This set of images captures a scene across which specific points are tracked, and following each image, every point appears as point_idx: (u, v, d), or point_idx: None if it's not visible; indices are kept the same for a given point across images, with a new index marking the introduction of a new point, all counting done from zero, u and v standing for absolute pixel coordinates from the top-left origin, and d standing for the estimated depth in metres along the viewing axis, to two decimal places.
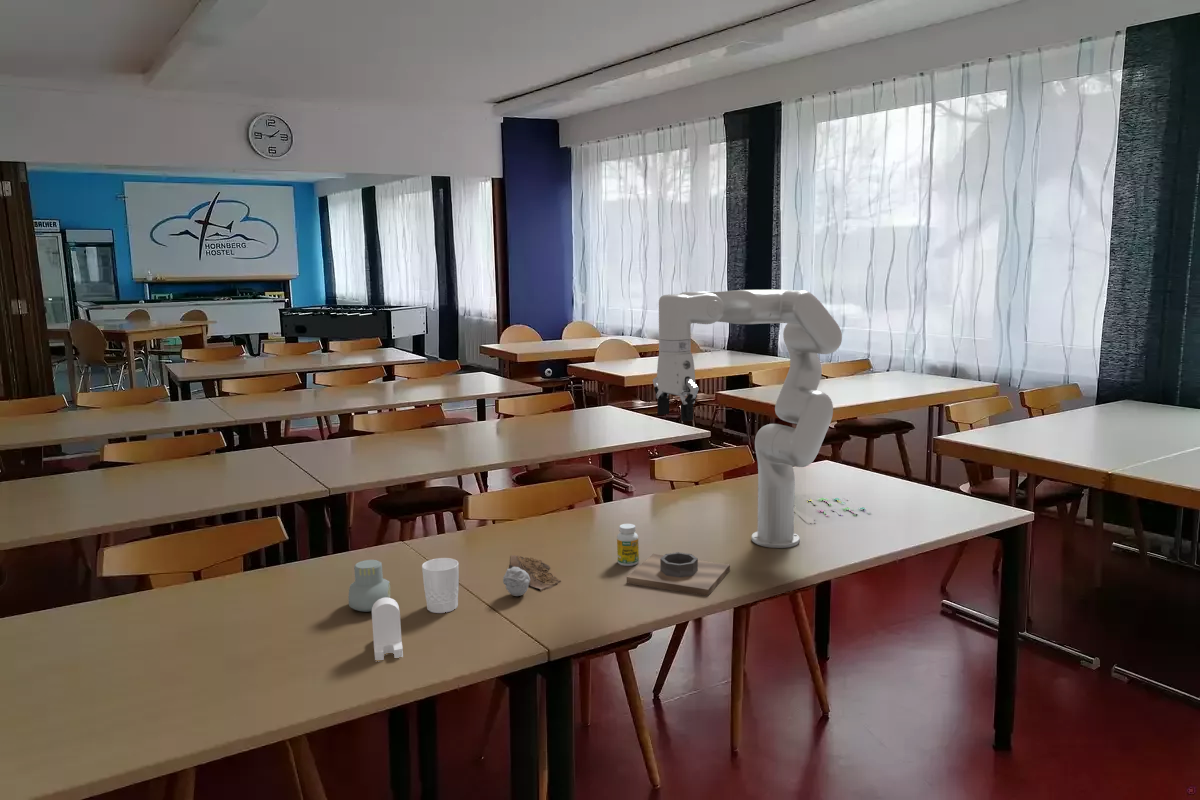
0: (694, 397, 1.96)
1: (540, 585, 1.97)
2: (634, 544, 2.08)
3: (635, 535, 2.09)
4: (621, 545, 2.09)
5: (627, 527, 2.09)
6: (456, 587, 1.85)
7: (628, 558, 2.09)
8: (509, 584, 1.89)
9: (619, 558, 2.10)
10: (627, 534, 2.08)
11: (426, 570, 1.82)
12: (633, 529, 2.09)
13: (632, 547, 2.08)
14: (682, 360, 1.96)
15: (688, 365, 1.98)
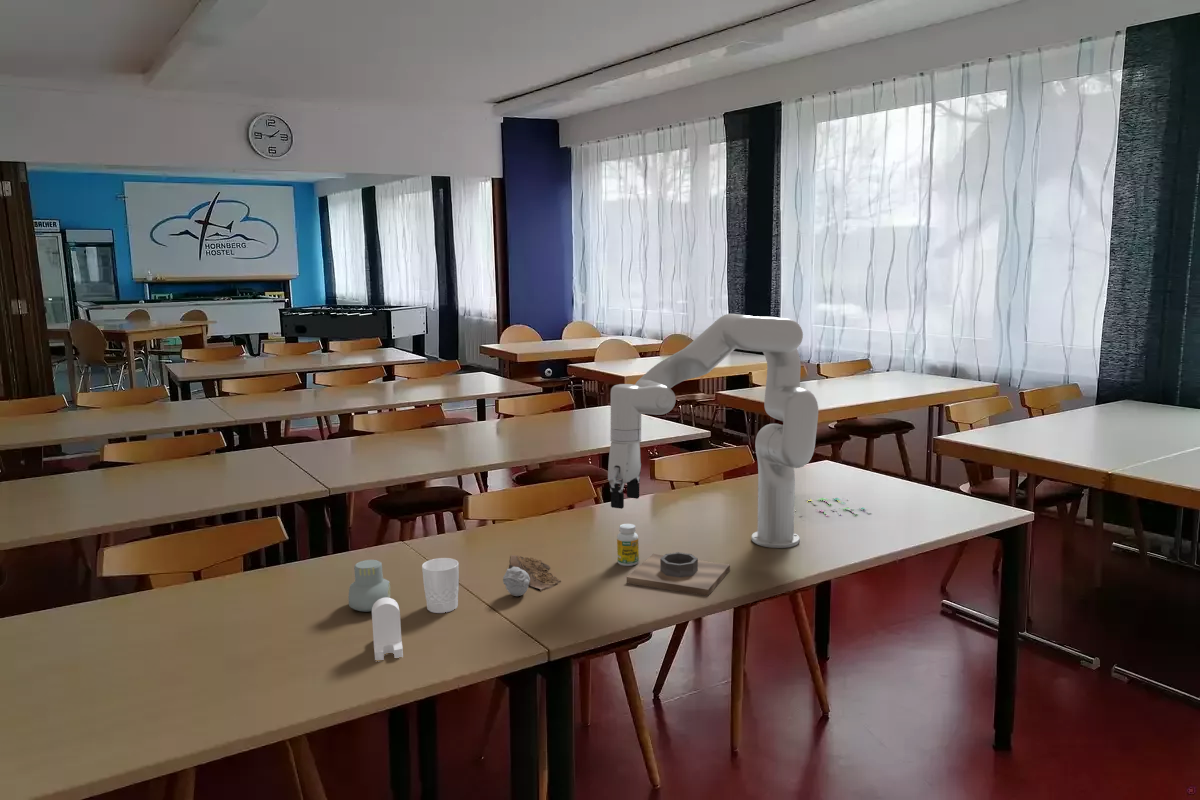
0: None
1: (540, 585, 1.97)
2: (634, 544, 2.08)
3: (635, 535, 2.09)
4: (621, 545, 2.09)
5: (627, 527, 2.09)
6: (456, 587, 1.85)
7: (628, 558, 2.09)
8: (509, 584, 1.89)
9: (619, 558, 2.10)
10: (627, 534, 2.08)
11: (426, 570, 1.82)
12: (633, 529, 2.09)
13: (632, 547, 2.08)
14: None
15: None
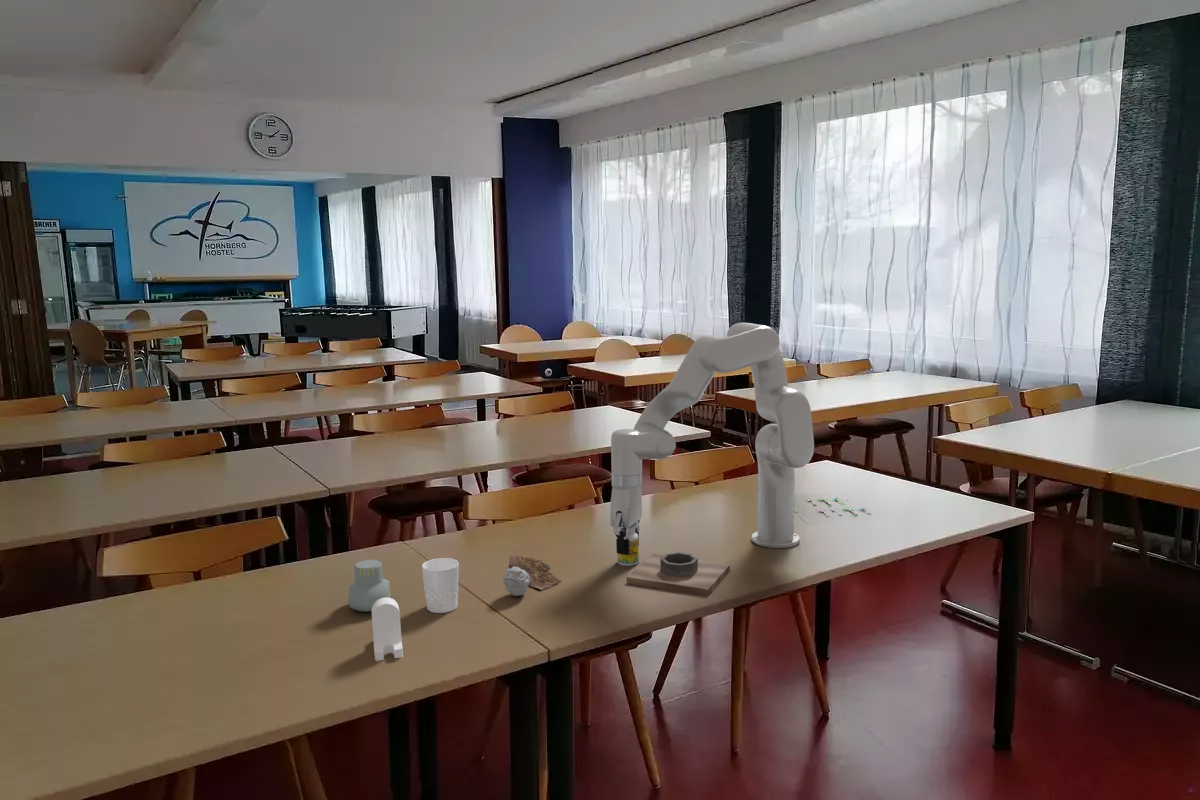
0: None
1: (540, 585, 1.97)
2: (634, 544, 2.08)
3: (635, 535, 2.09)
4: None
5: None
6: (456, 587, 1.85)
7: (628, 558, 2.09)
8: (509, 584, 1.89)
9: (619, 558, 2.10)
10: None
11: (426, 570, 1.82)
12: (633, 529, 2.09)
13: (632, 547, 2.08)
14: None
15: None
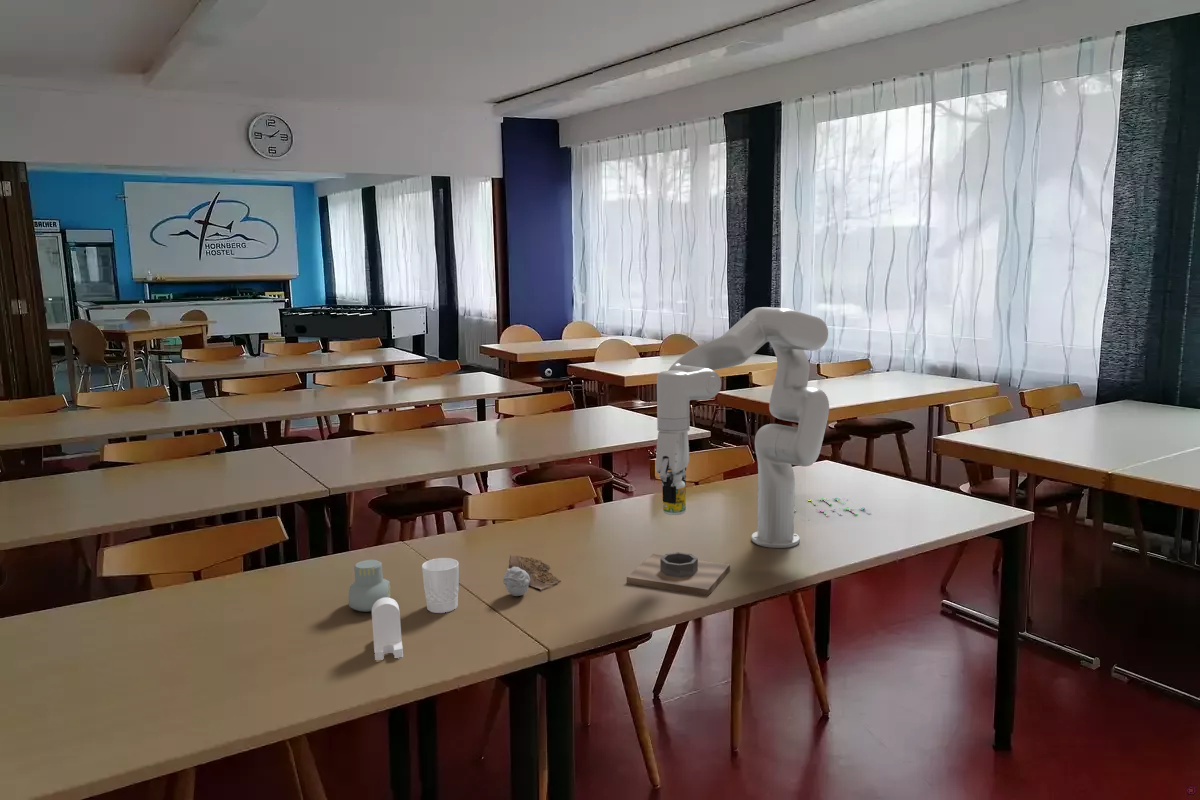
0: None
1: (540, 585, 1.97)
2: (680, 492, 1.97)
3: (682, 483, 1.98)
4: None
5: None
6: (456, 587, 1.85)
7: (674, 507, 1.97)
8: (509, 584, 1.89)
9: (665, 507, 1.98)
10: None
11: (426, 570, 1.82)
12: (680, 476, 1.97)
13: (679, 495, 1.97)
14: None
15: None
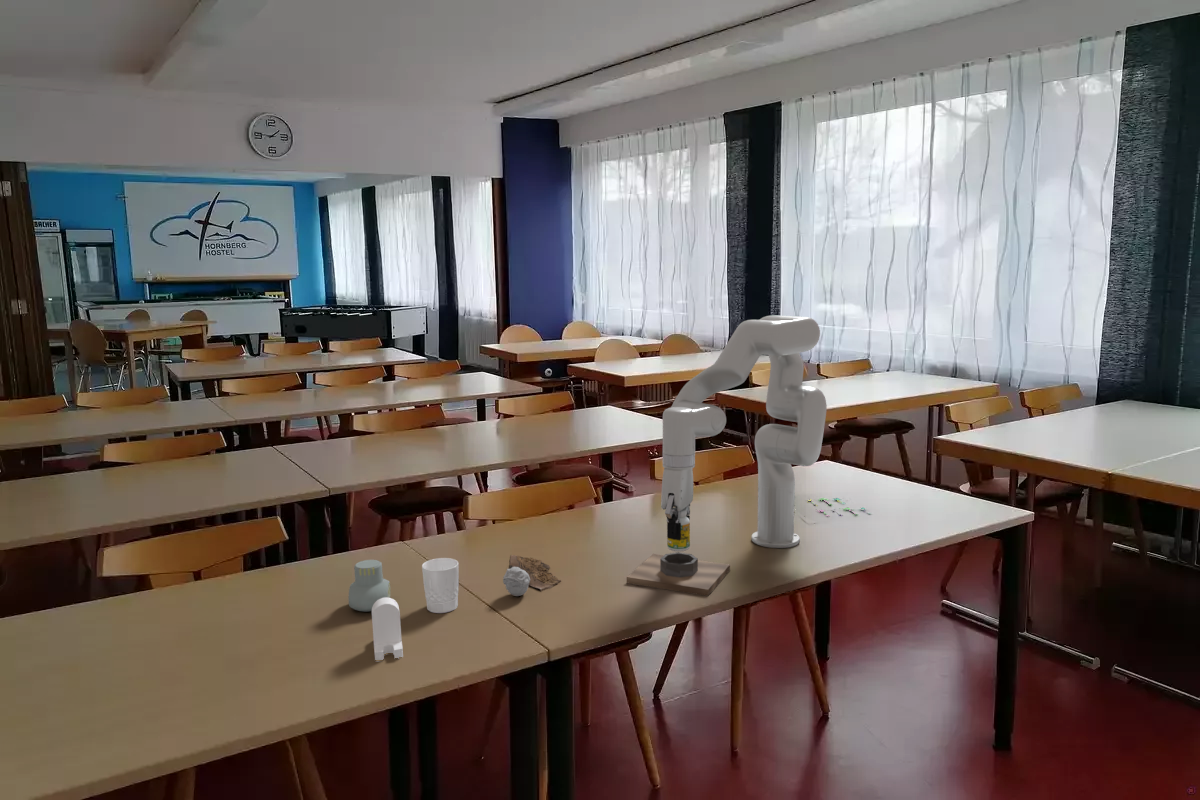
0: None
1: (540, 585, 1.97)
2: (685, 529, 1.97)
3: (687, 519, 1.98)
4: None
5: None
6: (456, 587, 1.85)
7: (679, 543, 1.97)
8: (509, 584, 1.89)
9: (669, 543, 1.99)
10: None
11: (426, 570, 1.82)
12: (685, 512, 1.98)
13: (683, 531, 1.97)
14: None
15: None
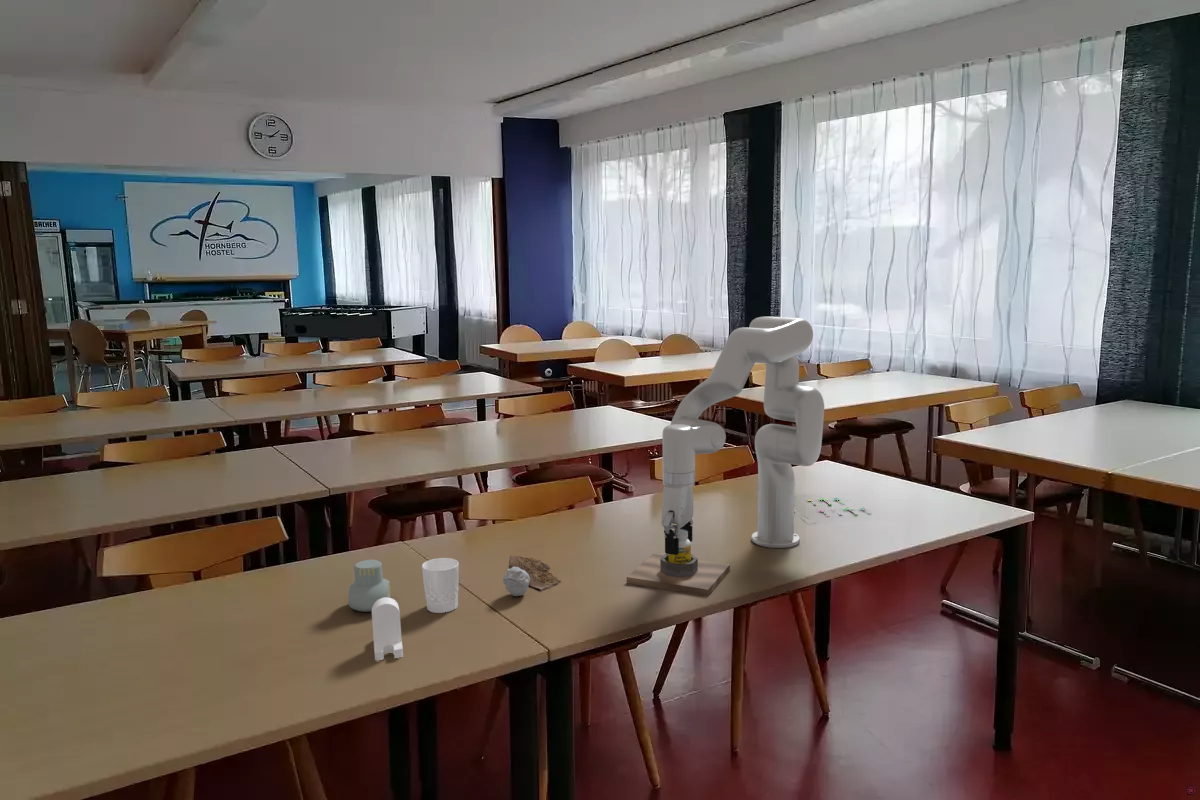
0: None
1: (540, 585, 1.97)
2: (686, 551, 1.98)
3: (688, 541, 1.99)
4: None
5: (679, 533, 1.99)
6: (456, 587, 1.85)
7: None
8: (509, 584, 1.89)
9: None
10: (679, 540, 1.98)
11: (426, 570, 1.82)
12: (686, 535, 1.99)
13: (684, 554, 1.98)
14: None
15: None
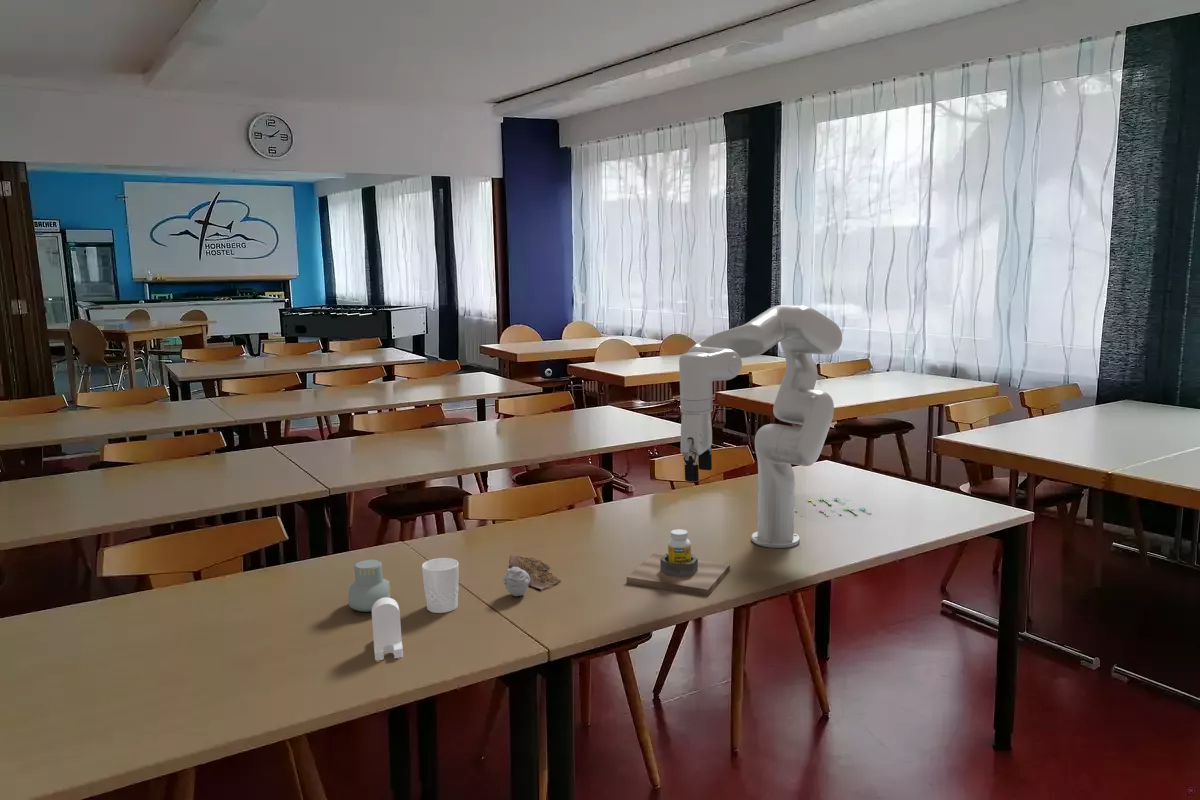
0: None
1: (540, 585, 1.97)
2: (686, 551, 1.98)
3: (687, 541, 1.99)
4: (672, 552, 1.99)
5: (679, 533, 1.99)
6: (456, 587, 1.85)
7: None
8: (509, 584, 1.89)
9: None
10: (679, 540, 1.98)
11: (426, 570, 1.82)
12: (685, 535, 1.99)
13: (684, 554, 1.98)
14: None
15: None
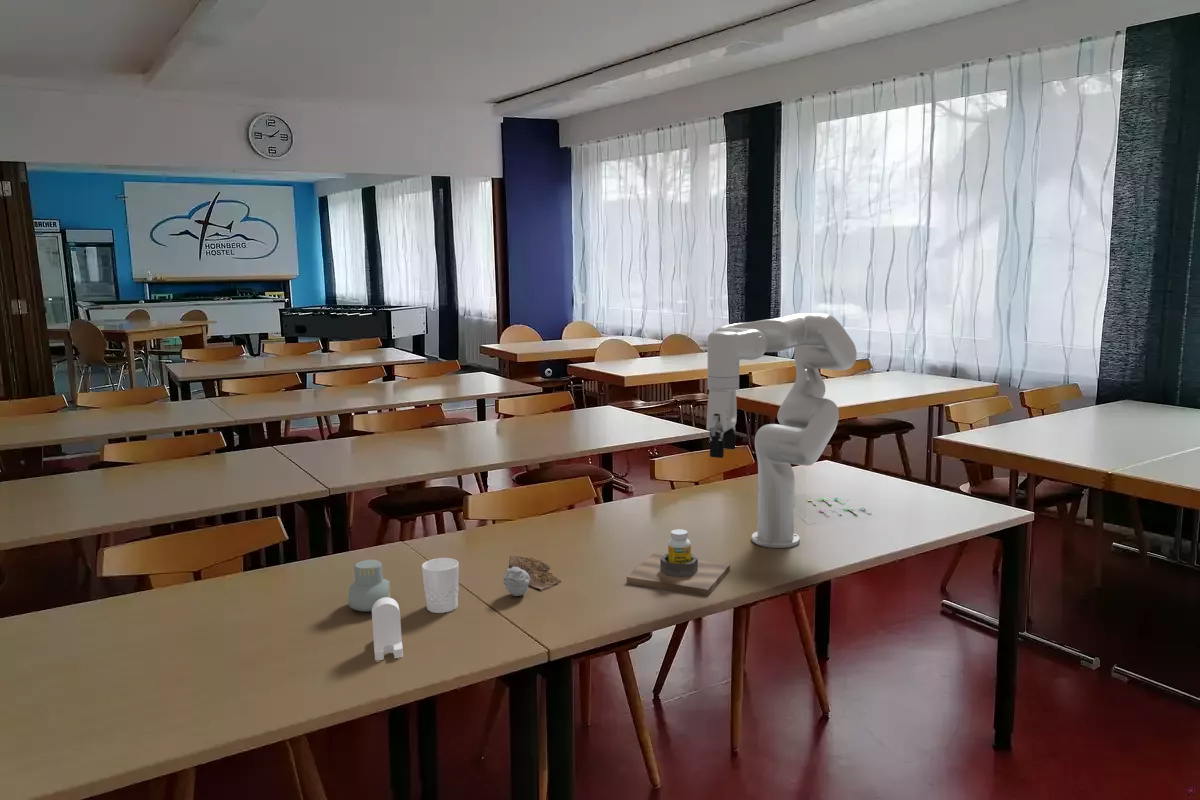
0: None
1: (540, 585, 1.97)
2: (686, 551, 1.98)
3: (687, 541, 1.99)
4: (673, 552, 1.99)
5: (679, 533, 1.99)
6: (456, 587, 1.85)
7: None
8: (509, 584, 1.89)
9: None
10: (679, 540, 1.98)
11: (426, 570, 1.82)
12: (686, 535, 1.99)
13: (684, 554, 1.98)
14: None
15: None
